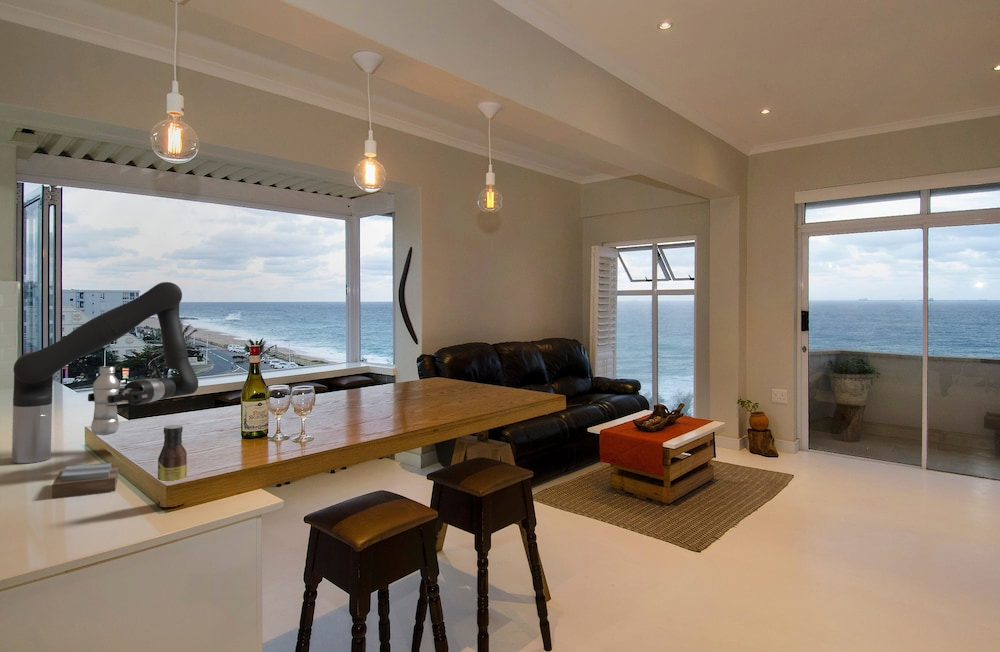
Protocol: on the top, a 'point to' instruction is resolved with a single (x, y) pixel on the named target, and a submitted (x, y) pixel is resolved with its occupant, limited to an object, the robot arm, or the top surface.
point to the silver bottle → (105, 402)
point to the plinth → (85, 480)
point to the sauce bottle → (172, 456)
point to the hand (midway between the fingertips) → (99, 398)
